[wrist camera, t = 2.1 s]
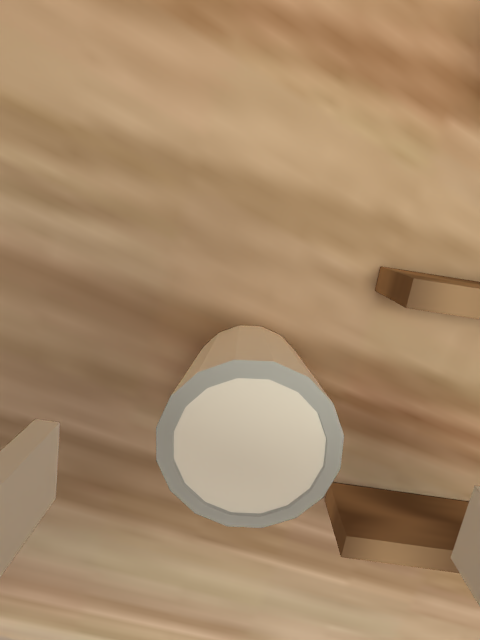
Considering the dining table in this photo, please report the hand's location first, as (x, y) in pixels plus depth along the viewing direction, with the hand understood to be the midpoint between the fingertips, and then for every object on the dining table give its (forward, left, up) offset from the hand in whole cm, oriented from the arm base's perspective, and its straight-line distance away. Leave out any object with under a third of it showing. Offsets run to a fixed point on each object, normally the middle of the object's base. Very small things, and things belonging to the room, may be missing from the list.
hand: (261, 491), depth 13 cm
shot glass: (0, 0, -9) cm, 9 cm away
